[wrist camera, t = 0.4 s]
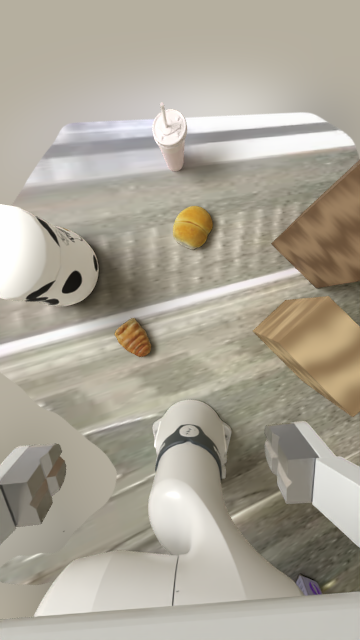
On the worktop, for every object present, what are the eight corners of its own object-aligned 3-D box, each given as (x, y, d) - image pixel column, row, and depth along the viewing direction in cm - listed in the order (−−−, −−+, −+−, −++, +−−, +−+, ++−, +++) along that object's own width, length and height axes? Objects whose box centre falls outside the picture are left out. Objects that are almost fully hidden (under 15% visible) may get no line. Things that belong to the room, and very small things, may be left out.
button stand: (354, 253, 45) (586, 170, 18) (316, 288, 47) (480, 260, 19) (307, 207, 46) (466, 60, 19) (271, 243, 47) (369, 154, 20)
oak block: (336, 350, 47) (406, 373, 31) (302, 381, 48) (352, 417, 32) (285, 300, 47) (328, 296, 31) (252, 330, 48) (278, 342, 33)
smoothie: (162, 148, 48) (146, 84, 34) (190, 147, 47) (185, 81, 34) (161, 178, 48) (145, 125, 35) (188, 177, 48) (184, 124, 34)
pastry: (159, 344, 51) (155, 347, 47) (139, 362, 52) (134, 366, 48) (133, 315, 51) (128, 316, 47) (114, 333, 52) (107, 335, 48)
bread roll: (217, 218, 48) (219, 210, 44) (199, 254, 49) (199, 249, 45) (185, 203, 49) (183, 193, 45) (168, 239, 49) (165, 233, 45)
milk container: (87, 223, 51) (26, 178, 33) (115, 290, 51) (69, 281, 33) (27, 252, 53) (-62, 224, 35) (53, 316, 53) (-21, 321, 35)
